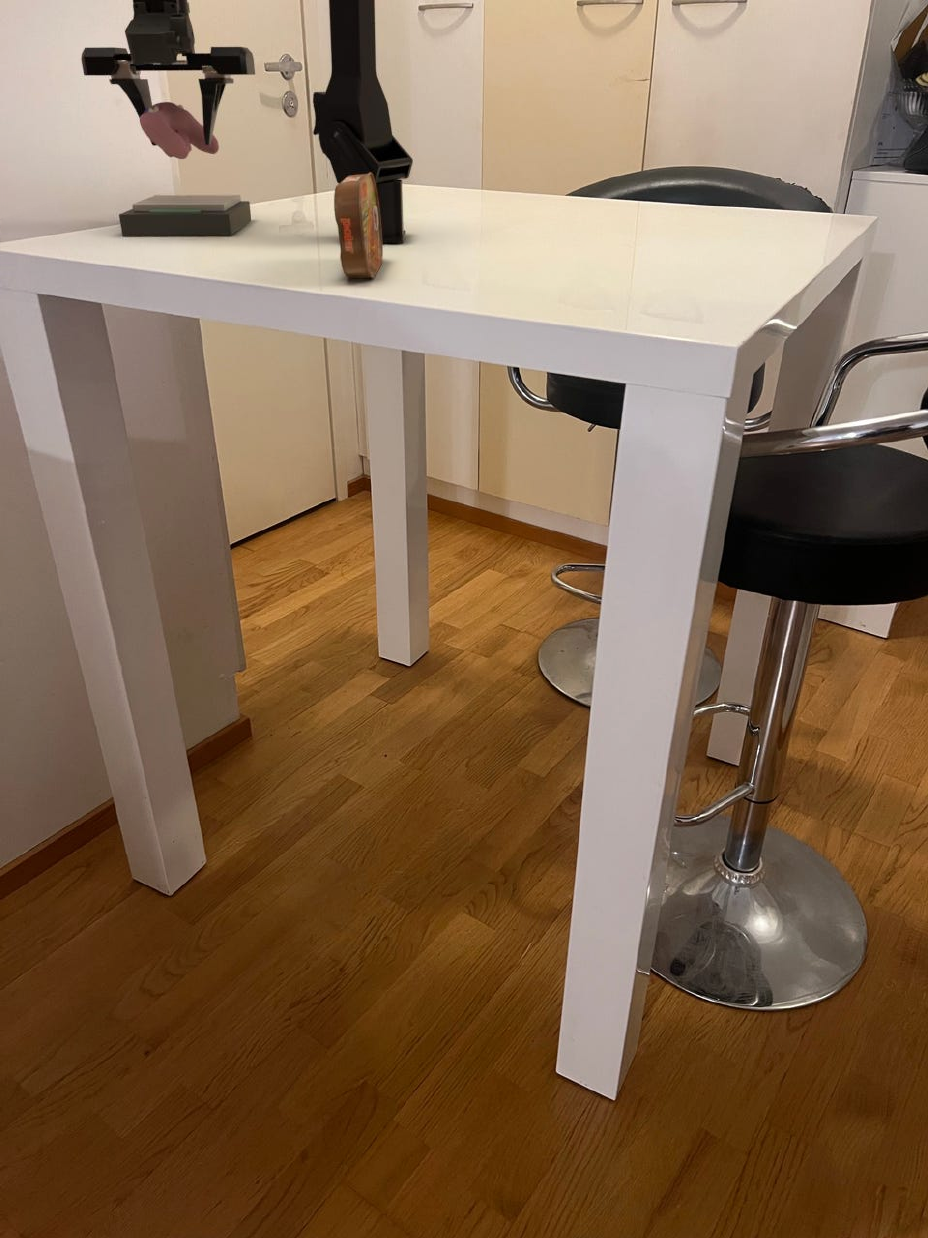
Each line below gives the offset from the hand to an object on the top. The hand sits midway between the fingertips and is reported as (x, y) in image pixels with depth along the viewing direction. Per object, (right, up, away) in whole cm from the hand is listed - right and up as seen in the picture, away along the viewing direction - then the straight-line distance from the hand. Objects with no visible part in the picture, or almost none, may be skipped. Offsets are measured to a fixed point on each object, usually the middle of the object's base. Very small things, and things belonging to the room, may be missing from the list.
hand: (181, 145), depth 113 cm
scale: (0, -8, +4) cm, 9 cm away
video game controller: (0, -1, +1) cm, 1 cm away
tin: (+24, -23, -22) cm, 40 cm away
